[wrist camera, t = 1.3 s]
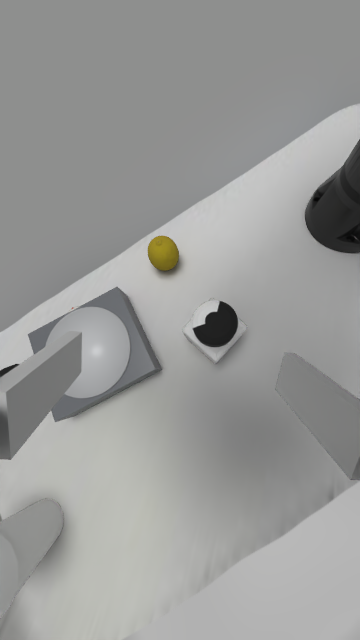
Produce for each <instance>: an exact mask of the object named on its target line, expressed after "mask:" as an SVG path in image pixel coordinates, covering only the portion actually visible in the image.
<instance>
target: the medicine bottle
mask: <svg viewBox="0 0 360 640" xmlns="http://www.w3.org/2000/svg"><path fill="white" fill-rule="evenodd" d="M246 329H247V325H245V324H244V323H243V322H242V321H240V320H239V319H238V318H237V315H236V313H235V311H234V310H233V308H232V307H231V306H229V305H228V304H226V303H224V302H222V301H216V300H215V299H214V298H211V299H210V300H209V301H208V302H205V303H203V304H202V305H200V306H199V307H198V308H197V309H196V311H195V312H194V314H193V317H192V319H191V320H190V321H189V322H188V324H187V325H186V326H185V327H184V328H183V329H182V332H183V333H184V335H185V336H186V338H187V339H188V340H189V341H190V342H191V343H192V344H194V345H195V346H196V347H197V348H198V349H199V350H200V351H201V352H202V353H203V354H204V355H206V356H207V357H208V358H209V359H210V360H211V361H212V362H213V363H215V364H216V363H217V362H218V361H219V360H220V359H221V358H222V357H223V355H224V354H225V353H226V352H227V351H228V350H229V349H230V348H231V347H232V345H233V344H234V343H235V342H236V341H237V340H238V339H239V338H240V337H241V335H242V334H243V333H244V332H245V331H246Z"/></svg>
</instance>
